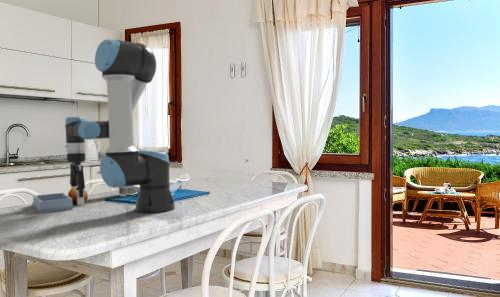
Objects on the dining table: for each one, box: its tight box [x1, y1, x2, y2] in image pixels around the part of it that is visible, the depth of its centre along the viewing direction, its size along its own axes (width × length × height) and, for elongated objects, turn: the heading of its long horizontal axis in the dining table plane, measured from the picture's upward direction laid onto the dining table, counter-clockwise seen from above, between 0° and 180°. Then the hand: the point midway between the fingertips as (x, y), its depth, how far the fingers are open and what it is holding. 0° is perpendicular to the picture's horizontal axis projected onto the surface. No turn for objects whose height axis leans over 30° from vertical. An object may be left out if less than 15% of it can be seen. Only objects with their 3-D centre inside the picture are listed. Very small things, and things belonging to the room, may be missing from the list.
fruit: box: [67, 187, 89, 205], centre depth 193 cm, size 8×8×8 cm
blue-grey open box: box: [32, 192, 74, 214], centre depth 184 cm, size 12×22×4 cm, turn 33°
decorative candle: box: [118, 186, 138, 197], centre depth 213 cm, size 9×9×25 cm
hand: (77, 202), depth 193 cm, fingers open, 11 cm apart
